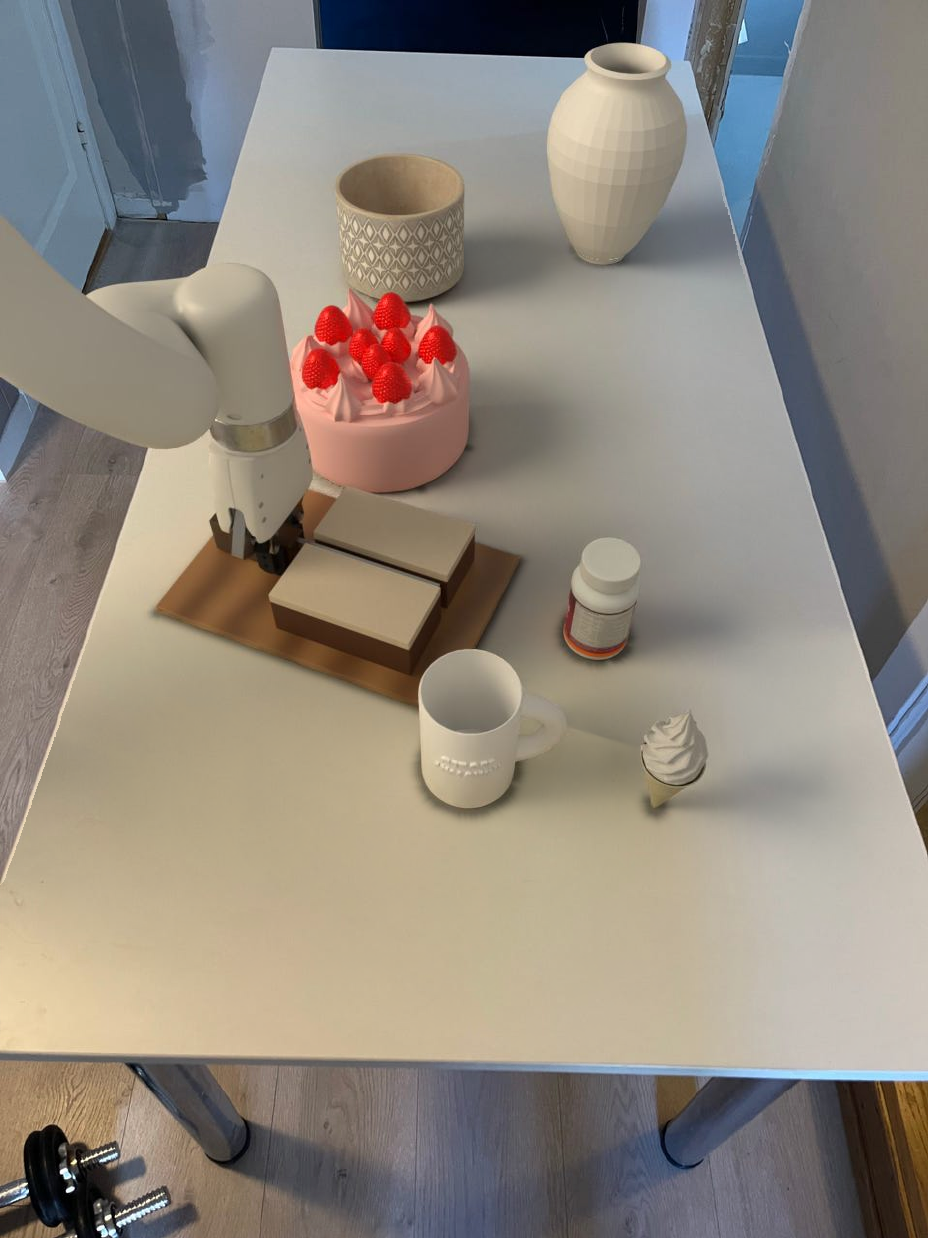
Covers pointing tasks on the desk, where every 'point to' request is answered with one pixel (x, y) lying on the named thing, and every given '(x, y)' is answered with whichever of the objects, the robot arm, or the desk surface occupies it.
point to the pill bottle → (602, 598)
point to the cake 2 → (400, 538)
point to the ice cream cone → (673, 757)
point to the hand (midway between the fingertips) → (283, 558)
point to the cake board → (241, 611)
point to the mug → (478, 727)
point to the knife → (293, 546)
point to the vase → (615, 149)
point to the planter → (401, 225)
